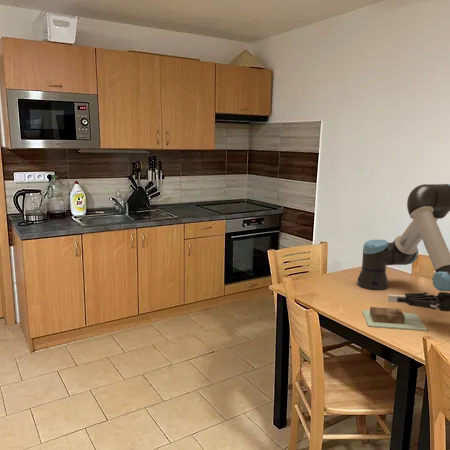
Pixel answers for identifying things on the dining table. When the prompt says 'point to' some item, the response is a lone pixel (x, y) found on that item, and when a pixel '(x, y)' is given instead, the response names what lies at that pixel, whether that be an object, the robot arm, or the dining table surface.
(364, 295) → the dining table surface
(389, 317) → the slim walnut box
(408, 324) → the mat
